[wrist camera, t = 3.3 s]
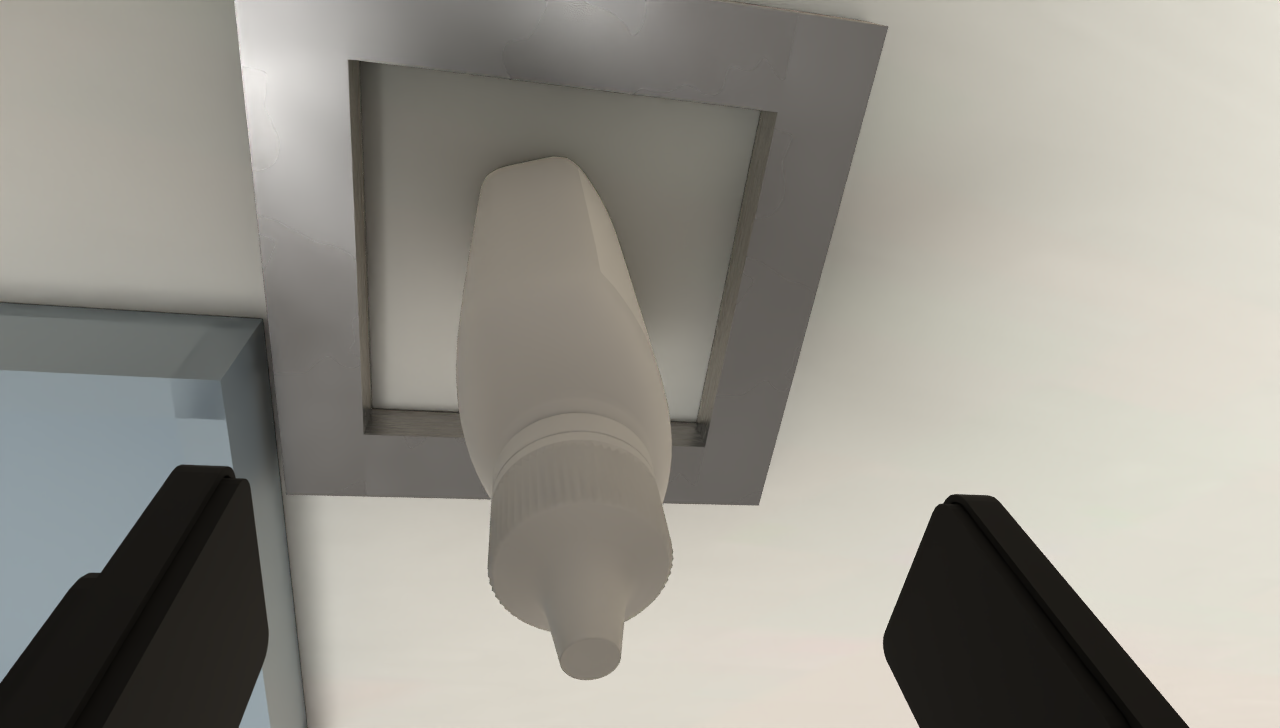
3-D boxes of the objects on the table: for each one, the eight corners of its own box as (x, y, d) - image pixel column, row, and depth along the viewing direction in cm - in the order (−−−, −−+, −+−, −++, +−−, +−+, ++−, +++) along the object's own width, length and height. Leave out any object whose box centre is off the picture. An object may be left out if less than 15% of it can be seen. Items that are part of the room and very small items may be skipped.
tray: (-330, 281, 16) (-491, 346, 14) (262, 318, 19) (220, 380, 16) (-94, 747, 24) (-169, 845, 21) (307, 734, 26) (284, 821, 24)
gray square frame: (247, -73, 15) (226, -73, 14) (866, 21, 17) (888, 26, 16) (298, 466, 21) (286, 494, 20) (747, 480, 23) (758, 505, 22)
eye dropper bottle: (672, 184, 18) (865, 502, 8) (603, 377, 21) (682, 815, 10) (494, 130, 17) (449, 421, 7) (443, 341, 20) (352, 795, 9)
